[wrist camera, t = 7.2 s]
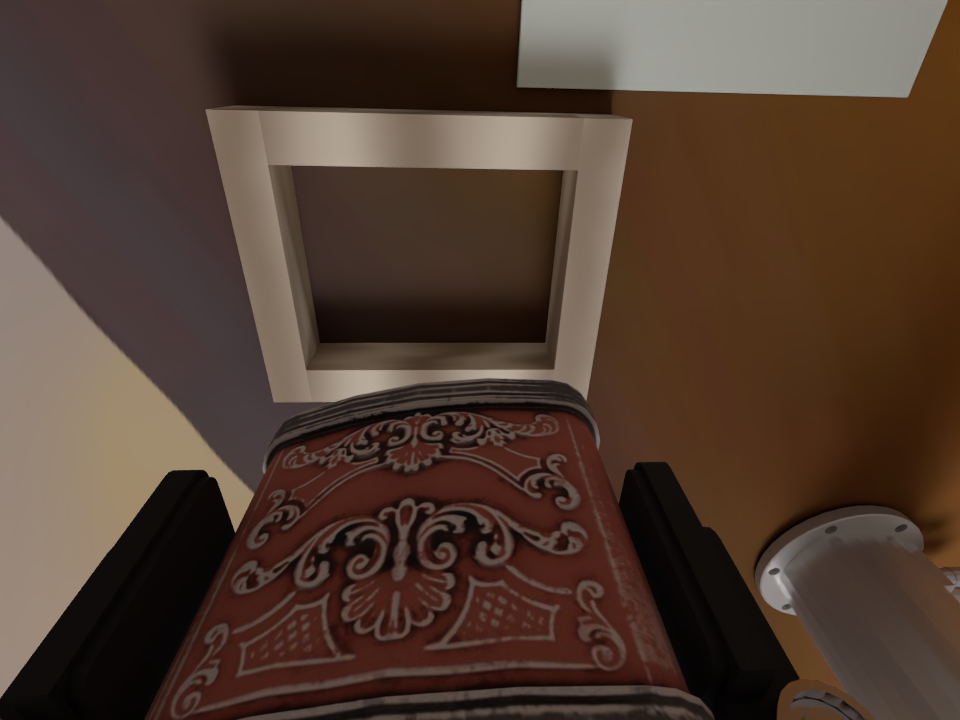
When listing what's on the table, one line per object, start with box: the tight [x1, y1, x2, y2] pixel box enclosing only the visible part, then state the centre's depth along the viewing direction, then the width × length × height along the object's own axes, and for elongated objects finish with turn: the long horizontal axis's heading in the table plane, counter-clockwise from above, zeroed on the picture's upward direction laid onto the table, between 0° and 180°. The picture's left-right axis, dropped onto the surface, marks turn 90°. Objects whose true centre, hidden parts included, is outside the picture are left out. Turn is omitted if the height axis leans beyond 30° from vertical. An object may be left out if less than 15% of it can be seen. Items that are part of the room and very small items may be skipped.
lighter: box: [144, 378, 715, 720], centre depth 8 cm, size 8×3×10 cm, turn 97°
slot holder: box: [206, 105, 633, 402], centre depth 24 cm, size 17×14×3 cm
